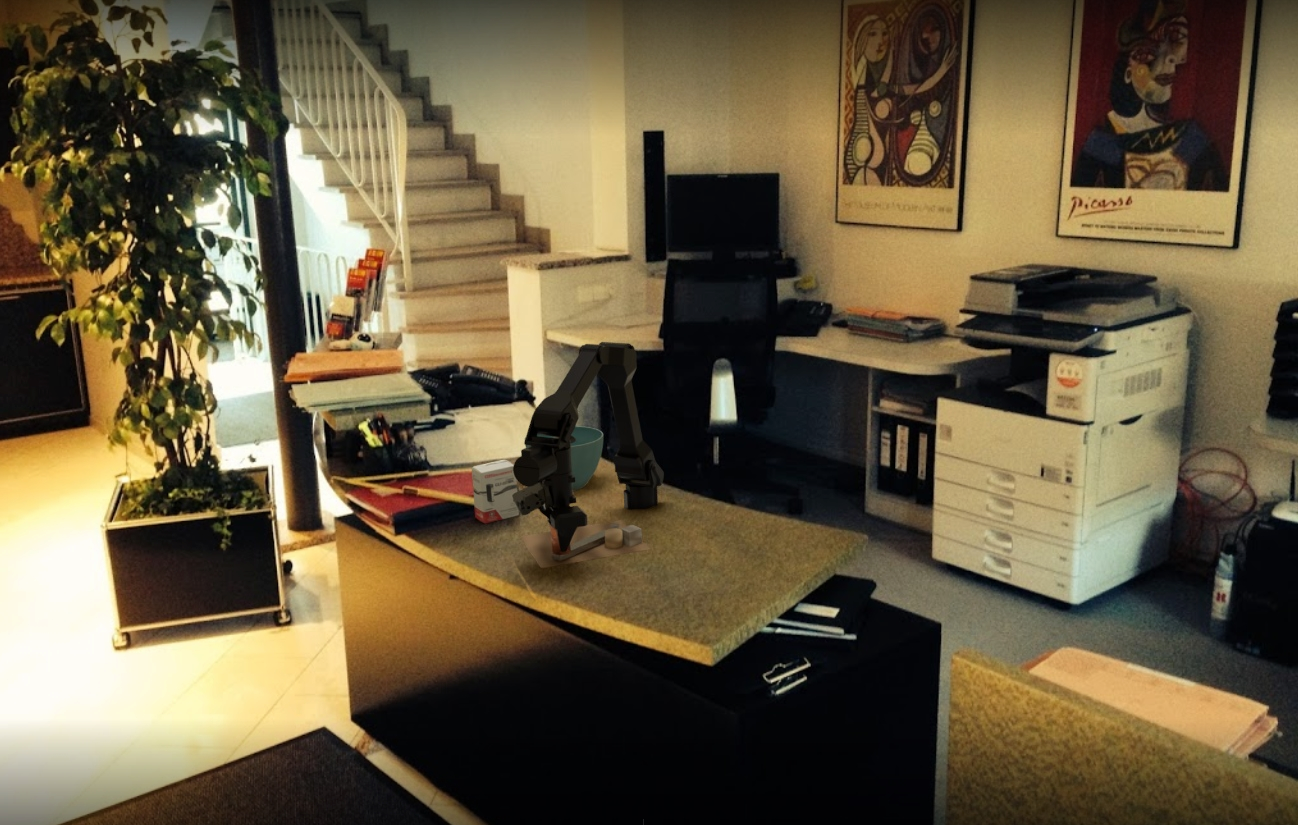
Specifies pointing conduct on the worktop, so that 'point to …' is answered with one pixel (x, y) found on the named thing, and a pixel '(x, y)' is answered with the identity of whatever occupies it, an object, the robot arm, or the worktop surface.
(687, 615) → the worktop surface
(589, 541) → the lever
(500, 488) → the ink box
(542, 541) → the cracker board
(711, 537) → the worktop surface
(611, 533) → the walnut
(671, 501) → the worktop surface
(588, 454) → the teal bowl
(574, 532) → the robot arm
